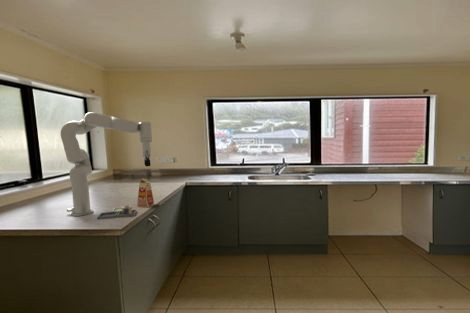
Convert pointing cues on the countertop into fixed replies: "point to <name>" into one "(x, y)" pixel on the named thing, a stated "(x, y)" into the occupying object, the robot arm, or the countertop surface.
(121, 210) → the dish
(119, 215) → the dish right
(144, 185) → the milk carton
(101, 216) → the dish left
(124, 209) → the letter cube
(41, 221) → the countertop surface
